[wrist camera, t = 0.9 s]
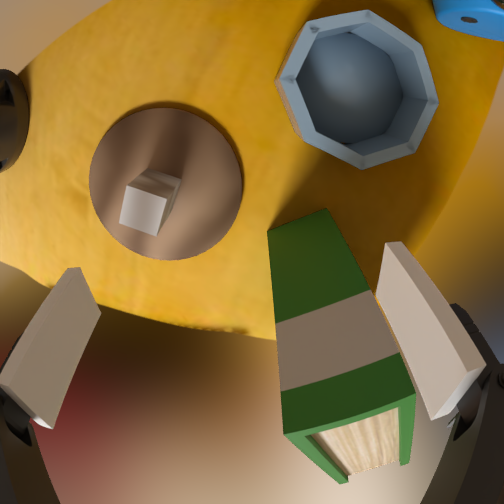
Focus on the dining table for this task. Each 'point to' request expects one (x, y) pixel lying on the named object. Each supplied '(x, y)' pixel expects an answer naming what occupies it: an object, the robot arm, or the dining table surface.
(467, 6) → the alarm clock
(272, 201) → the dining table surface
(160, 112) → the lid
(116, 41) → the dining table surface
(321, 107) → the bowl
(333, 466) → the hardback book
